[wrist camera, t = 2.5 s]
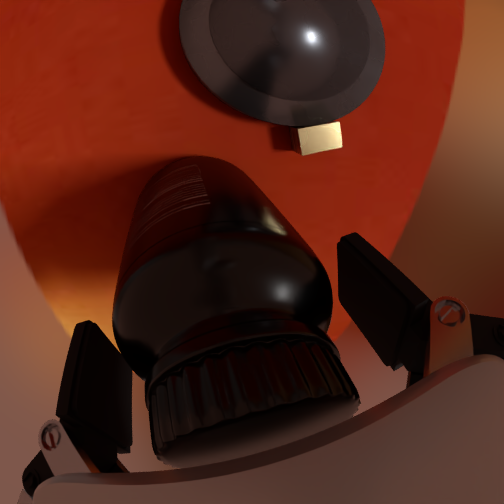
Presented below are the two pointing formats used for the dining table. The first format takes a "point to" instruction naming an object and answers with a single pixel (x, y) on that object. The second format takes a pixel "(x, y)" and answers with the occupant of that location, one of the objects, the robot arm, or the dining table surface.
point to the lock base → (287, 60)
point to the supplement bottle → (225, 319)
